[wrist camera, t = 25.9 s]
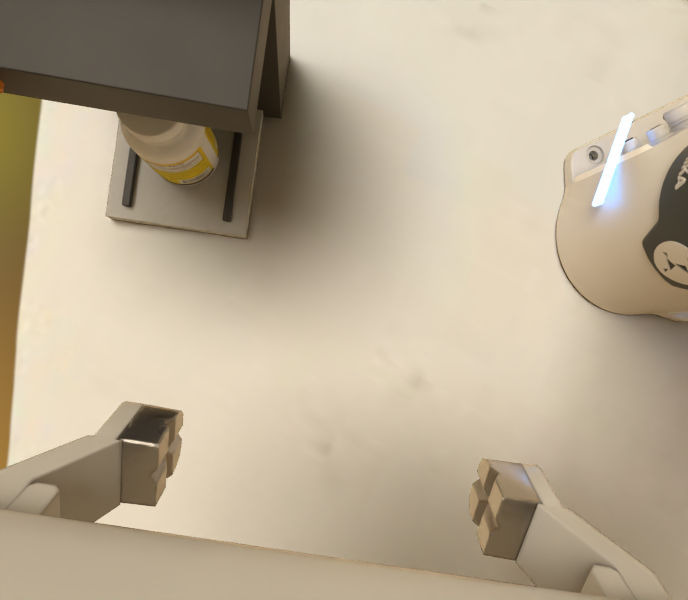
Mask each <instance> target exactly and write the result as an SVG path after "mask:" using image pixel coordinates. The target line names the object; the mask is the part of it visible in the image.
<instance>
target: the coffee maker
mask: <svg viewBox="0 0 688 600" xmlns="http://www.w3.org/2000/svg"><path fill="white" fill-rule="evenodd" d="M289 59H290V0H0V93H2V92H3V93H9V94H15V95H21V96H27V97H33V98H38V99H44V100H50V101H56V102H62V103H68V104H74V105H80V106H86V107H91V108H97V109H103V110H109V111H115V112H121V113H127V114H133V115H139V116H144V117H150V118H156V119H162V120H168V121H174V122H180V123H186V124H192V125H197V126H203V127H209V128H211V130H212V132H213V134H214V136H215V138H216V140H217V143H218V147H219V162H218V165H217V167H216V169H215V171H214V173H213V174H212V175H211V176H210V177H209V178H208V179H207V180H205V181H204V182H202V183H200V184H197V185H193V186H179V185H176V184H173V183H170V182H168V181H167V180H165V179H164V178H162V177H161V176H160V175H159V174H158V173H157V172H156V171H155V170H153V169H152V168H151V167H150V166H149V165H148V164H147V163H146V162H145V161H144V160H143V159H142V158H141V157H140V156H138V155H137V154H136V153H135V152H134V151H133V150H132V148H131V147H130V146H129V145H128V143H127V142H126V140H125V138H124V136H123V133H122V129H121V124H120V119H119V126H118V133H117V140H116V147H115V154H114V160H113V167H112V174H111V181H110V188H109V195H108V202H107V208H106V216H107V217H109V218H111V219H116V220H123V221H130V222H137V223H144V224H150V225H157V226H164V227H171V228H178V229H184V230H191V231H198V232H205V233H212V234H219V235H225V236H232V237H239V238H247V231H248V224H249V216H250V209H251V202H252V195H253V188H254V180H255V173H256V166H257V159H258V152H259V144H260V137H261V130H262V123H263V116H268V117H274V118H279V119H281V117H282V110H283V102H284V95H285V88H286V81H287V73H288V66H289Z"/></svg>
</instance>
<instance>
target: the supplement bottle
mask: <svg viewBox="0 0 688 600" xmlns="http://www.w3.org/2000/svg"><path fill="white" fill-rule="evenodd" d="M117 115H118V117H119V119H120V124H121V129H122V133H123V136H124V138H125V140H126V142H127V143H128V145H129V146H130V147H131V148H132V150H133V151H134V152H135V153H136V154H137V155H138V156H140V157H141V158H142V159H143V160H144V161H145V162H146V163H147V164H148V165H149V166H150V167H151V168H152V169H153V170H155V171H156V172H157V173H158V174H159V175H160V176H161V177H162V178H164V179H165V180H167V181H168V182H170V183H173V184H176V185H179V186H193V185H197V184H200V183H202V182H204V181H205V180H207V179H208V178H209V177H210V176H211V175H212V174H213V173H214V171H215V169H216V167H217V165H218V162H219V147H218V143H217V140H216V138H215V136H214V134H213V132H212V130H211V128H209V127H203V126H197V125H192V124H186V123H180V122H174V121H168V120H162V119H156V118H150V117H144V116H139V115H133V114H127V113H121V112H117Z"/></svg>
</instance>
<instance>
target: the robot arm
mask: <svg viewBox="0 0 688 600" xmlns="http://www.w3.org/2000/svg"><path fill="white" fill-rule="evenodd" d="M633 117H634V114H633V113H630V114H628V115H626V116H624V117H623V118H622V121H621V123H620V126H619V128H618V129H616V130H614V131H612V132H610V133H607V134H605V135H603V136H601V137H599V138H597V139H595V140H593V141H591V142H589V143H587V144H585V145H583V146H581V147H579V148H577V149H575V150H573V151H571V152H570V153H569V154H568V155H567V156H566V159H565V164H564V174H565V186H566V188H565V194H564V197H563V200H562V204H561V207H560V210H559V214H558V218H557V226H556V242H557V249H558V254H559V257H560V261H561V264H562V266H563V268H564V271H565V273H566V274H567V276H568V278H569V280H570V281H571V283H572V284H573V285H574V286H575V288H576V289H577V290H578V291H579V292H580V293H581V294H582V295H583V296H584V297H585V298H586V299H588V300H589V301H590V302H592V303H593V304H595V305H597V306H598V307H600V308H603V309H605V310H607V311H610V312H614V313H618V314H626V315H636V314H657V315H659V316H662V317H665V318H667V319H670V320H674V321H688V95H686V96H684V97H682V98H679V99H677V100H675V101H673V102H671V103H669V104H667V105H665V106H663V107H661V108H659V109H657V110H655V111H653V112H651V113H649V114H647V115H644V116H642V117H640V118H638V119H636V120H634V121H632V120H633ZM589 154H591V155H592V156H593V160H591V159H590V158H589ZM182 426H183V412H182V411H180V410H174V409H169V408H163V407H158V406H152V405H146V404H145V405H144V404H141V403H134V402H128V401H126V402H123V403H122V404H121V405H120V406H119V407H118V408H117V410H116V411H115V412H114V413H113V414H112V415H111V417H110V418H109V419H108V420H107V421H106V422H105V424H104V425H103V426H102V427H101V428H100V429H99V431H98V432H97V433H96V434H95V435H94V436H90V435H87V436H85V437H82V438H80V439H77V440H75V441H72V442H70V443H67V444H65V445H62V446H60V447H57V448H54V449H52V450H49V451H47V452H44V453H42V454H39V455H37V456H34V457H32V458H29V459H27V460H24V461H21V462H19V463H16V464H14V465H11V466H9V467H6V468H4V469H1V470H0V600H673V599H672V598H671V597H670V595H669V594H668V592H667V591H666V589H665V588H664V586H663V585H662V583H661V582H660V580H659V579H658V578H657V576H656V575H655V573H654V572H653V571H651V570H650V569H649V568H647V567H646V566H645V565H643V564H642V563H641V562H639V561H638V560H637V559H635V558H634V557H633V556H631V555H630V554H629V553H627V552H626V551H625V550H623V549H622V548H621V547H619V546H618V545H617V544H615V543H614V542H613V541H611V540H610V539H609V538H607V537H606V536H605V535H603V534H602V533H601V532H599V531H598V530H597V529H595V528H594V527H593V526H591V525H590V524H589V523H587V522H586V521H585V520H583V519H582V518H581V517H579V516H578V515H577V514H575V513H574V512H573V511H571V510H570V509H567V508H563V506H562V505H561V503H560V501H559V499H558V498H557V496H556V494H555V492H554V491H553V489H552V487H551V485H550V484H549V482H548V480H547V478H546V477H545V475H544V473H543V471H542V470H541V468H540V467H538V466H537V465H531V464H522V463H512V462H505V461H498V460H491V459H484V458H483V459H482V460H481V462H480V464H479V467H478V470H477V472H478V474H479V477H480V479H479V480H477V481H476V482H475V483H473V485H472V489H471V492H470V500H469V508H470V514H471V518H472V521H473V522H474V523H476V524H477V525H478V526H479V528H478V531H477V537H478V540H479V543H480V546H481V549H482V553H483V555H486V556H492V557H498V558H503V559H509V560H515V561H516V563H517V565H518V566H519V567H520V568H521V569H522V570H523V571H524V573H525V574H526V575H527V576H528V577H529V578H530V580H531V581H532V582H533V583H534V584H535V585H536V586H537V587H534V586H527V585H520V584H513V583H506V582H500V581H493V580H486V579H479V578H472V577H465V576H458V575H451V574H444V573H437V572H431V571H424V570H417V569H410V568H403V567H396V566H389V565H382V564H375V563H368V562H362V561H355V560H348V559H341V558H334V557H327V556H320V555H313V554H306V553H300V552H293V551H286V550H279V549H272V548H265V547H258V546H251V545H245V544H238V543H231V542H224V541H217V540H210V539H203V538H196V537H189V536H183V535H176V534H169V533H162V532H155V531H148V530H141V529H134V528H128V527H121V526H114V525H107V524H100V523H94V522H95V521H97V520H98V519H99V518H101V517H102V516H104V515H105V514H107V513H108V512H110V511H111V510H113V509H114V508H116V507H117V506H118V505H120V502H121V503H129V504H138V505H146V506H156V504H157V503H158V501H159V499H160V497H161V495H162V493H163V491H164V489H165V488H166V478H168V477H170V476H171V475H172V474H173V472H174V470H175V468H176V465H177V462H178V459H179V456H180V451H181V443H182V439H181V437H180V436H179V434H178V433H179V431H180V429H181V427H182Z"/></svg>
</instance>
